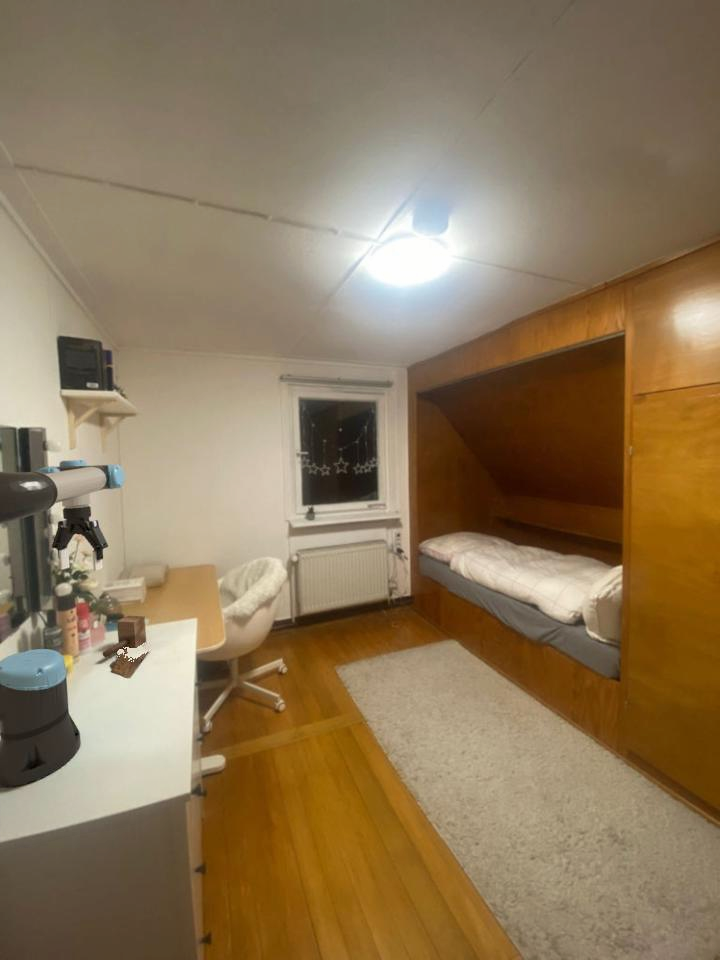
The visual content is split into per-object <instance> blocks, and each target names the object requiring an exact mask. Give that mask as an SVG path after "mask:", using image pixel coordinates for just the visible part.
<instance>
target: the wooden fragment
mask: <svg viewBox="0 0 720 960" xmlns="http://www.w3.org/2000/svg"><path fill="white" fill-rule="evenodd" d="M121 649H123V650H124V652H125V653H124V655H123V653H122V654H120V655H117V654H116V657H117V656H118V658H116V659H115V661H112V662H110V665H109V666H110V667H111V670H110V673H112V674H115V675H118V676H121V677H123V678H124V679H131V677H132V676H133V674H134V673H135V672H136V670H137V669H138V668H139V667H140V665H141V663H142V662H143V660H144V659H145V658H146V657H147V655H148V654H149V653H146V654H145V653H144V654H142V655H141V656H140V657H138V658H137V659H136V658H135V659H133V658H132V657H130V658H132V660H130V661H128V660H129V659H130V658H128V656H126V658H124V657H125V654H127V653H128V652H127V648H126V649H124V648H121ZM119 656H120V657H119ZM133 660H134V662H133ZM131 661H132V662H131Z"/></svg>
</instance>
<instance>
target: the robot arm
mask: <svg viewBox="0 0 720 960" xmlns="http://www.w3.org/2000/svg"><path fill="white" fill-rule="evenodd" d="M124 483H125V472H124V469H123V467H121V466H120V465H118V464H97V465H88V462H87V461H86V460H83V459H82V460H81V459H79V460H77V459H75V460H71V459H70V460H62V461H59V466H46V467H41V468H39V469H38V470H36V471H27V472H25V471H23V472H19V471H13V472H12V471H0V525H1V524H6V523H10V522H13V521H16V520H21V519H23V518H27V517H31V516H33V515H36V514H39V513H42V512H45V511H47V510H49V509H51V508H52V507H54V505H55V504H57V503H62V505H61V506H62V507H64V508H63V509H62V518H63V519H64V520H59V521H58V522H57V528H56V532H55V534H54V538H53V540H52V544H51V548H52V549H56V551H57V558H58V560H59V569H60V570H61V571H62V570H65V569H69V568H71V567H70V556H69V548H68V545H69V544H70V543H71V540H72V539H73V537H74V535H79V536H80V535H81V536H82V537H84V538H85V540H86V541H87V542H88V543H89V545H90V546H91V547H92V549H93V551H92V563H93V564H92V565H93V571H94V572H96V571H99V570H102V569H103V567H104V566H103V565H104V564H103V560H104V549H107V548H108V547H109V544H108V542H107V540H106V537H105V536H104V533H103V532H102V530H101V528H100V523H99V520H90V518H91V516H92V507H91V506H90V504H91V498H90V497H91V495H90V494H91V493H94V492H99V491H102V490H114V489H120V488H122V487H123V486H124ZM67 671H68V670H67V667H66V663H65V658H64V656H63V655H62V654H61V653H60V652H58V651H57V650H53V649H48V648H47V649H46V648H39V649H37V648H35V649H29V650H26V651H22V652H21V651H20V652H16V653H13V654H11V655H7V656H6V657H5V658H3V659H1V660H0V787H1V786H4V787H3V788H8V787H7V786H14V787H19V786H23V785H22V784H24V785H26V784H25V783H27V784H29V783H28V782H30V783H32V782H31V781H33V782H35V781H34V780H36V779H38V780H40V779H42V778H41V777H43V776H45V777H47V776H49V775H50V774H52V773H54V772H55V771H57V770H59V769H60V768H62V767H63V766H64V765H66V764H67V763H68V762H69V761H70V760H72V759H73V758H74V756H75V755H76V754H77V752H79V750H80V748H81V743H82V741H81V733H80V730H79V729H78V726H77V725H76V723H75V722H74V719H73V718H72V716H71V714H70V710H69V708H70V707H69V698H68V697H69V696H68V695H69V693H68V680H67V674H68V672H67ZM48 774H49V775H48ZM46 775H47V776H46ZM39 778H40V779H39ZM43 778H44V777H43ZM36 781H37V780H36ZM18 785H19V786H18ZM5 786H6V787H5Z"/></svg>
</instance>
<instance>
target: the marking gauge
mask: <svg viewBox="0 0 720 960" xmlns="http://www.w3.org/2000/svg"><path fill="white" fill-rule="evenodd" d="M145 617H146V616H143V615H142V616H139V615H126V616H124V617H123V618H121V619H119V620H117V621H116V625H117V628H116V629H117V640H118V641H117V642H118V643H116V644H115V645H113V646H111V647H109V648H108V649H106V650H104V651H103V652H102V656H103V657H104V658H108V657H111V655H112V654H114V653H116V651H118V650H119V649H121V648H123V647H124V648H125V647H129V648H137V647H138V646H140V645H142V644H143V643H145V642H146V643H147V634H146V633H147V632H146V618H145Z"/></svg>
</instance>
